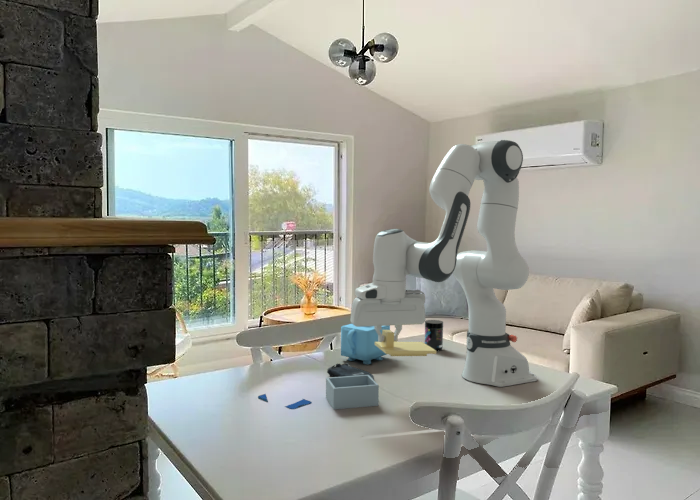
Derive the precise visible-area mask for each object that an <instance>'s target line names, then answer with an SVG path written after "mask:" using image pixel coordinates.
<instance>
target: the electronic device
mask: <svg viewBox="0 0 700 500" xmlns="http://www.w3.org/2000/svg"><path fill="white" fill-rule="evenodd" d="M326 370H327V371H326V373H327V374H328V375H329V377H330V376H331V377H345V376H359V375H369V376H370V377H371V378H372V379H373V380H374V381H375V376H374V375H373V374H372V373H370V372H368V371H367V370H363V369H360V368H359V367H358V368H357V367H354V366H351V365H349V363H348V362H346V363H342V364H341V363H336V364H334V365H332V366H328V368H327V369H326Z"/></svg>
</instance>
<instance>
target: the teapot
mask: <svg viewBox="0 0 700 500" xmlns="http://www.w3.org/2000/svg"><path fill="white" fill-rule="evenodd" d="M382 330H391V325H390V326H382V329H381V330H380V332H381V334H382ZM375 342H378V334H377V332H376V331H375V329H374V326H364V327H356V326H354V325H353V324H352V323H349V324H345V325H342V326H341V327H340V356H343V357H345V358H347V361H349V362H352V361H356V360H359V361H362V364H363V365H371V364H372V360H375V361H383V360H384V358H383V356H384V357H385V356H387V355H388V354H386V353H384V352H383V351H382V350H381V349H379V348H378V347H377V346H376V345H375Z"/></svg>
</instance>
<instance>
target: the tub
mask: <svg viewBox="0 0 700 500" xmlns="http://www.w3.org/2000/svg"><path fill="white" fill-rule="evenodd" d="M379 387H380V386H379V384H378V382H376V380H375V379H374V380H373V379H372V378H371V377H370V376H369V375H359V376H345V377H333V376H331V377H325V398H326V400H327V401H328V403H329V405H330V407H331V408H332V410H334V411H335V410H344V409H356V408H367V407H377V406H379V397H380V396H379V395H380V393H379V391H380V390H379Z"/></svg>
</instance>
